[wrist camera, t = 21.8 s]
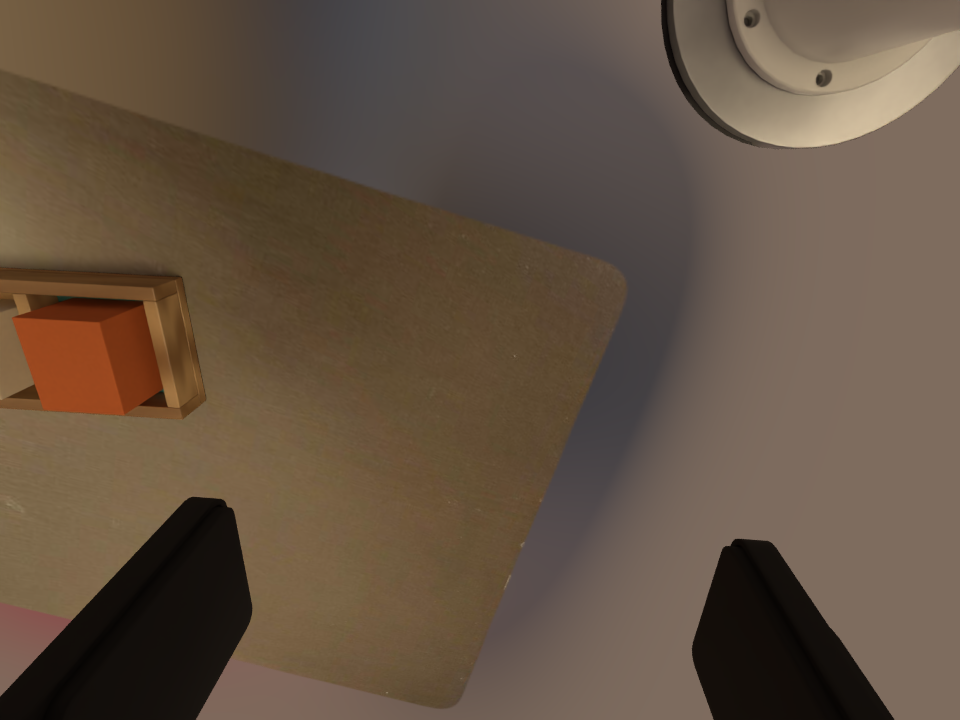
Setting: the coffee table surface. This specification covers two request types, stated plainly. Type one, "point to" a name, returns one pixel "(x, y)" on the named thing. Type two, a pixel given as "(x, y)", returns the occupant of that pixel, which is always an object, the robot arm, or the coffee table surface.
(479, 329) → the coffee table surface
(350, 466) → the coffee table surface
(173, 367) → the holder
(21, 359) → the beige block
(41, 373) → the orange block
